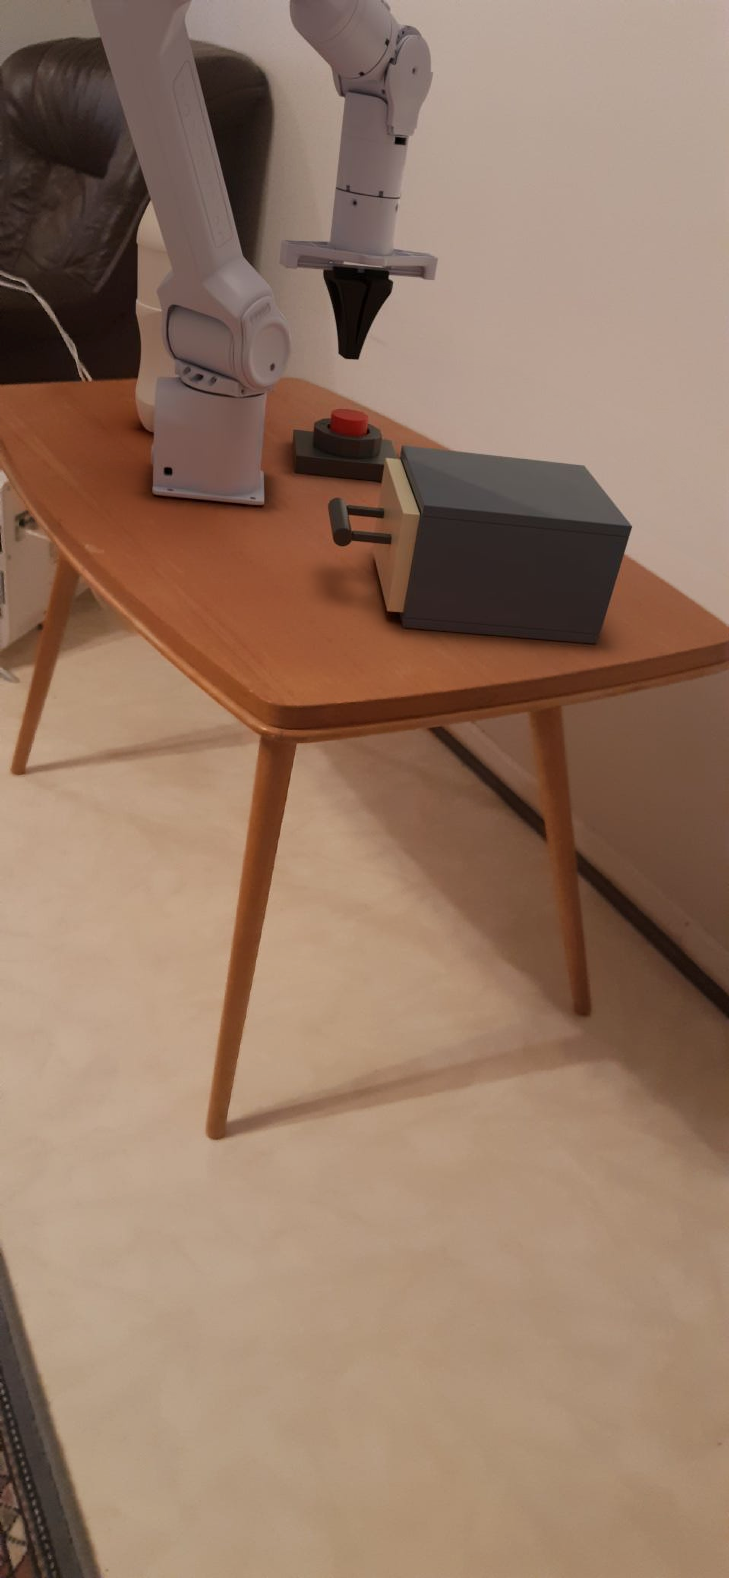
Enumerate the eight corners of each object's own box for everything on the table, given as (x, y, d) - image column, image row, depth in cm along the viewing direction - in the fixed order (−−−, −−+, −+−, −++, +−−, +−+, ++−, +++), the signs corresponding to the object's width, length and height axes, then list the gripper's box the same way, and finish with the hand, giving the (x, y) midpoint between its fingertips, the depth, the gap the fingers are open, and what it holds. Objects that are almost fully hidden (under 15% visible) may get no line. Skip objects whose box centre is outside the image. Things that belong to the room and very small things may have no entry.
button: (330, 436, 97) (332, 418, 96) (328, 425, 100) (330, 407, 99) (367, 440, 98) (370, 422, 97) (364, 429, 101) (366, 411, 100)
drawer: (328, 606, 72) (341, 506, 68) (319, 543, 81) (330, 451, 77) (568, 627, 75) (594, 532, 71) (533, 563, 84) (555, 476, 80)
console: (294, 472, 97) (298, 435, 95) (291, 446, 103) (295, 410, 101) (398, 483, 98) (404, 447, 96) (389, 456, 105) (394, 422, 103)
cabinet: (402, 628, 73) (424, 504, 68) (384, 556, 83) (401, 445, 78) (597, 644, 75) (632, 526, 70) (556, 573, 85) (584, 465, 80)
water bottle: (176, 446, 98) (185, 141, 84) (119, 426, 101) (119, 127, 87) (222, 433, 104) (238, 144, 89) (168, 414, 106) (175, 131, 92)
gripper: (304, 190, 83) (288, 365, 91) (461, 208, 89) (434, 371, 97) (278, 178, 89) (265, 344, 96) (428, 196, 94) (405, 351, 102)
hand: (348, 356), depth 97 cm, fingers closed
